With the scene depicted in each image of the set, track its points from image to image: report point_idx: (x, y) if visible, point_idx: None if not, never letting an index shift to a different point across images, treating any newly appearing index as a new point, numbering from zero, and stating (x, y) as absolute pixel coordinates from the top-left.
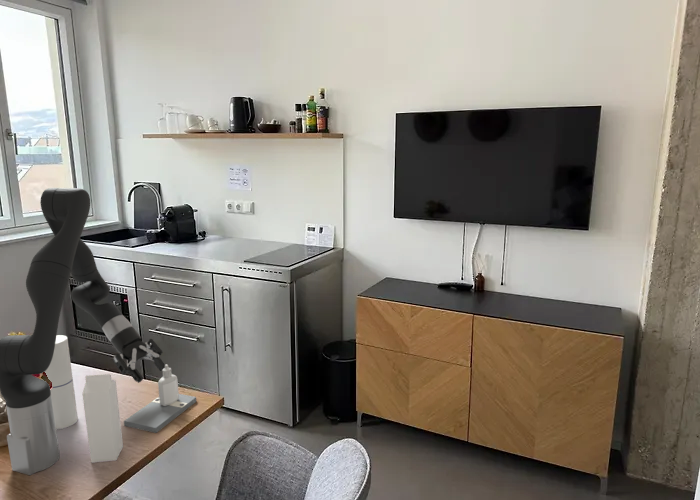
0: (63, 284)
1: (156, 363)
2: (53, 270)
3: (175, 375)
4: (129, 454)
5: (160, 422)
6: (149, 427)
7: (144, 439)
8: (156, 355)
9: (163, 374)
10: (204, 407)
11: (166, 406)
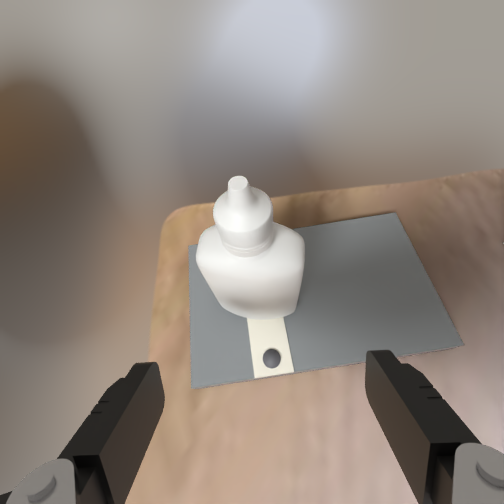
0: None
1: (130, 457)
2: None
3: (203, 233)
4: (497, 203)
5: (367, 223)
6: (404, 234)
7: (431, 224)
8: (48, 496)
9: (272, 229)
10: None
11: None
